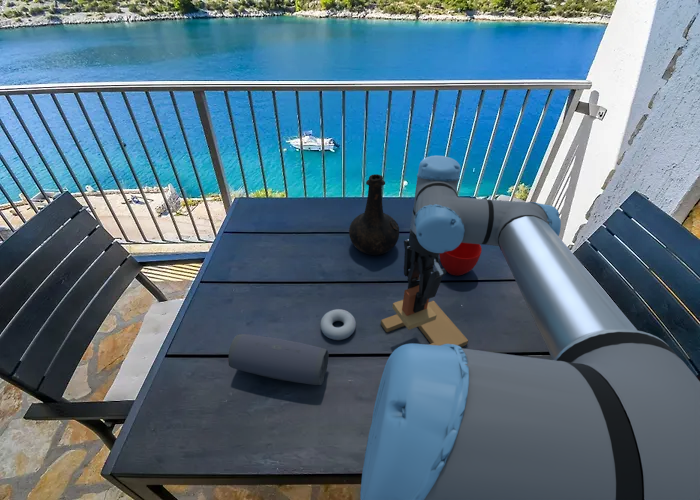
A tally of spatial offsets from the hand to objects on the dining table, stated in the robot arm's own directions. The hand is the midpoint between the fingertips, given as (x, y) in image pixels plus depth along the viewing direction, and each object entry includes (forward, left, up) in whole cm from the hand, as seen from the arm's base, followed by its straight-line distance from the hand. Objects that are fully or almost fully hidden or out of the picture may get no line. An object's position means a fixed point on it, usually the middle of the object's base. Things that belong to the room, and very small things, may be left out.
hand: (415, 305), depth 88 cm
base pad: (+1, -4, -14) cm, 14 cm away
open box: (0, 0, -3) cm, 3 cm away
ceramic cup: (+27, -23, -14) cm, 38 cm away
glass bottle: (+42, +1, -14) cm, 44 cm away
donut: (+7, +19, -14) cm, 24 cm away
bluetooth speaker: (-4, +35, -14) cm, 38 cm away
